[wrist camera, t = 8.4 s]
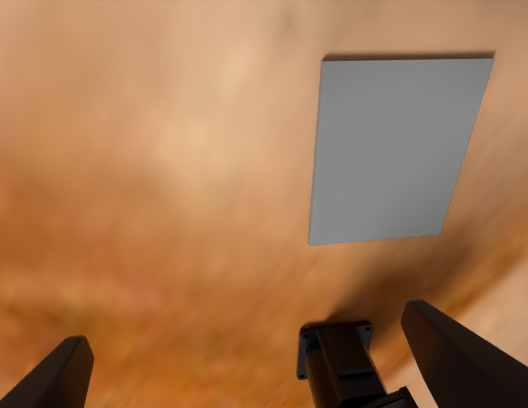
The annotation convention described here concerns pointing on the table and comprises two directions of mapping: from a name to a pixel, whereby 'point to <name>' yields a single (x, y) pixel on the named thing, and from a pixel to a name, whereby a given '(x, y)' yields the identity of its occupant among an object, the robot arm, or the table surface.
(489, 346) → the robot arm
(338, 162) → the mat
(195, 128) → the table surface
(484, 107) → the table surface
